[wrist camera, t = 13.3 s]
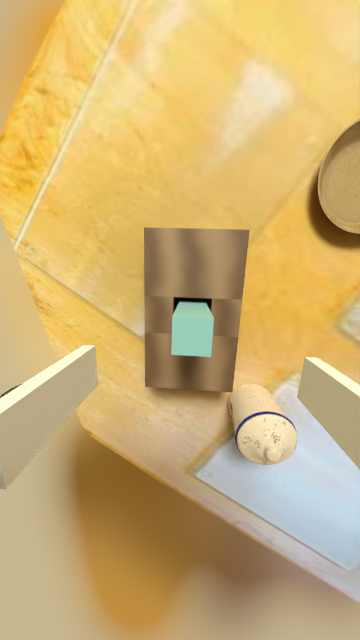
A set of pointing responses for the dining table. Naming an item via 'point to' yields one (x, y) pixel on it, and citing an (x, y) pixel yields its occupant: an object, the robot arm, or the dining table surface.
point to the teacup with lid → (260, 425)
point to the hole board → (194, 284)
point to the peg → (192, 329)
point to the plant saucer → (342, 180)
